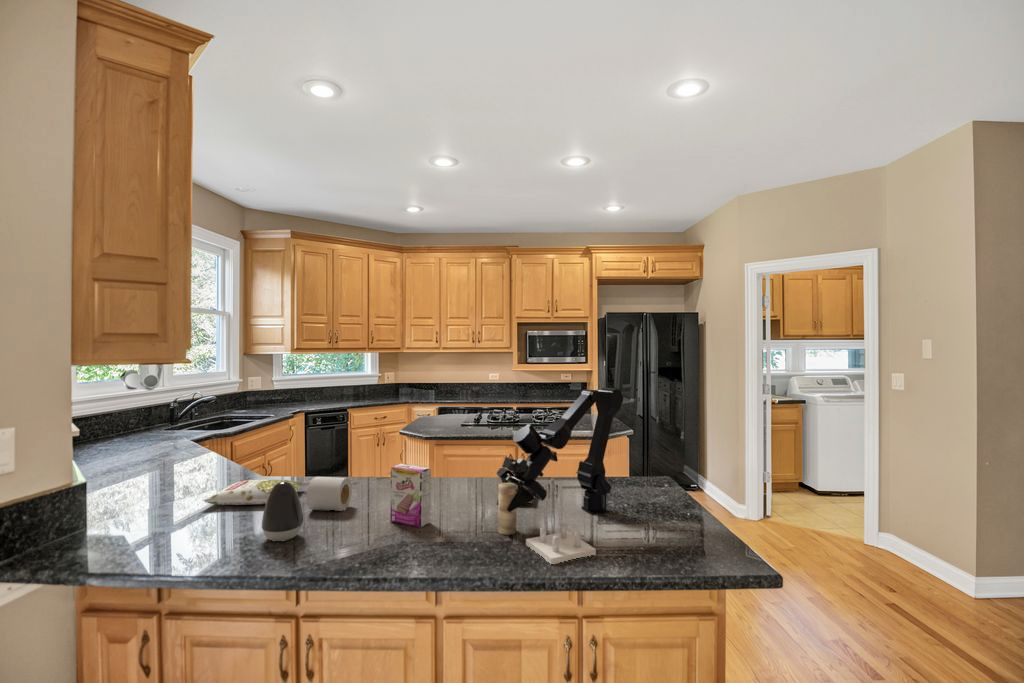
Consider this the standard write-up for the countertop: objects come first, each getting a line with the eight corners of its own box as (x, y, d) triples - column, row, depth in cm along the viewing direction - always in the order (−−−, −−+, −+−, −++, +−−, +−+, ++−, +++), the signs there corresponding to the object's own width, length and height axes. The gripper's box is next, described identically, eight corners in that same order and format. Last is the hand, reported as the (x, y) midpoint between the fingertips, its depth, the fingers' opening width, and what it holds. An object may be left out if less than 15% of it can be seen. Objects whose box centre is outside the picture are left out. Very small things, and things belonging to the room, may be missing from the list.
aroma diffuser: (261, 548, 128) (262, 489, 128) (261, 534, 137) (261, 479, 137) (304, 541, 132) (305, 484, 132) (301, 528, 142) (301, 474, 142)
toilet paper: (351, 505, 162) (351, 474, 162) (337, 515, 152) (338, 482, 152) (322, 503, 163) (322, 473, 163) (306, 514, 153) (306, 481, 153)
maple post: (511, 526, 144) (511, 481, 144) (518, 533, 140) (519, 486, 140) (495, 529, 142) (495, 483, 142) (502, 535, 137) (503, 488, 137)
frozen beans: (284, 490, 158) (200, 491, 155) (283, 509, 157) (200, 510, 155) (305, 475, 178) (231, 476, 176) (305, 491, 178) (231, 492, 176)
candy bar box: (389, 522, 147) (389, 466, 147) (399, 517, 152) (400, 462, 151) (420, 528, 142) (421, 471, 142) (430, 523, 147) (431, 467, 147)
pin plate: (567, 536, 137) (568, 518, 137) (595, 555, 126) (595, 535, 126) (525, 544, 132) (526, 525, 132) (551, 564, 120) (551, 544, 120)
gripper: (502, 440, 151) (469, 482, 145) (538, 452, 135) (503, 500, 129) (523, 463, 155) (492, 505, 149) (561, 477, 139) (528, 524, 133)
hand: (503, 508), depth 140 cm, fingers closed on maple post, 5 cm apart
